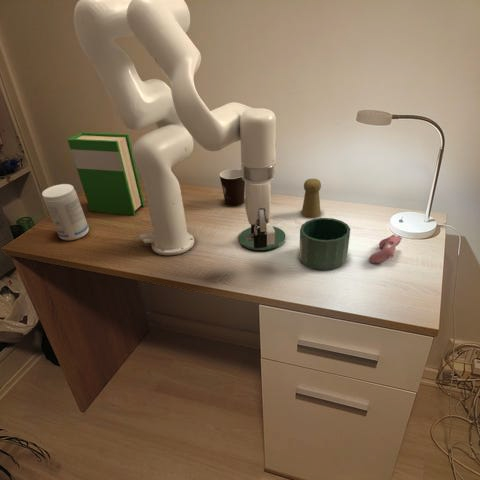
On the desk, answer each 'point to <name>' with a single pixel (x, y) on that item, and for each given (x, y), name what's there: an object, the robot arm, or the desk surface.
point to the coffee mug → (233, 187)
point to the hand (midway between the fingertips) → (258, 241)
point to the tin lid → (278, 241)
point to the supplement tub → (65, 211)
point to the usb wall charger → (269, 235)
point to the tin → (324, 243)
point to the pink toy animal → (386, 249)
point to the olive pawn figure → (311, 199)
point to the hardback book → (107, 172)
